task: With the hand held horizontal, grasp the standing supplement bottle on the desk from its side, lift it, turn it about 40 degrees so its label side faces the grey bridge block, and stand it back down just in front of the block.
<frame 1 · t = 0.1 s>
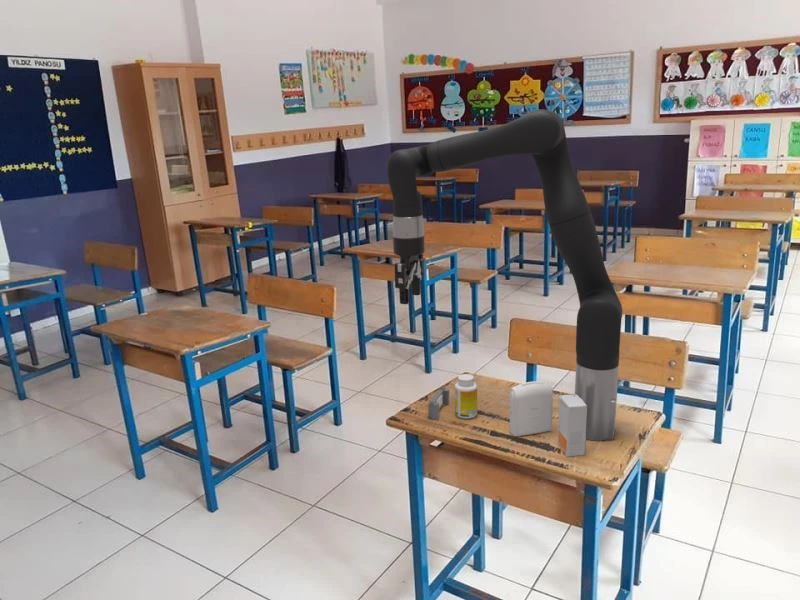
hand: (410, 299, 155), 29 cm above the table, tool pointing down, fingers open, 8 cm apart
supplement bottle: (466, 415, 158), on the table
photo printer: (530, 431, 148), on the table
grey bridge block: (437, 410, 161), on the table
skincare box: (570, 450, 140), on the table
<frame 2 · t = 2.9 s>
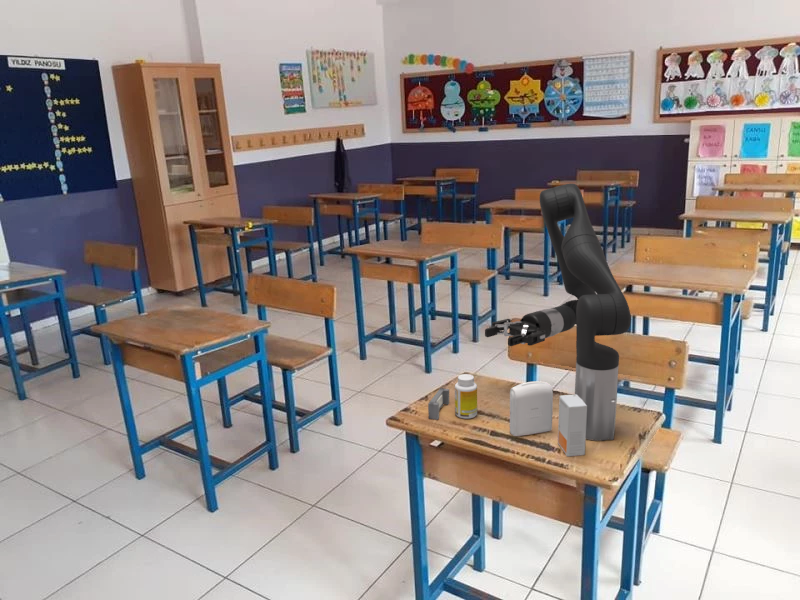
hand: (497, 337, 159), 18 cm above the table, tool horizontal, fingers open, 8 cm apart
nothing on the table moved.
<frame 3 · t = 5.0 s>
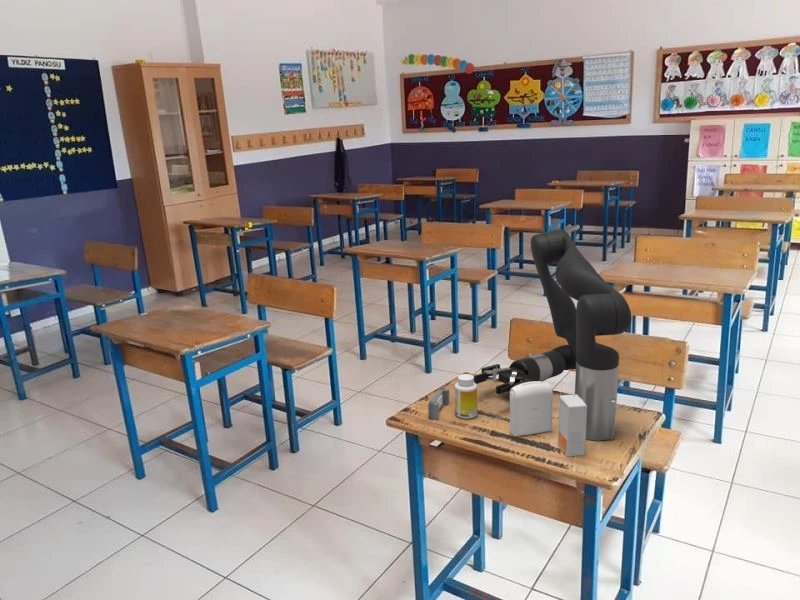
hand: (485, 385, 160), 6 cm above the table, tool horizontal, fingers open, 8 cm apart
nothing on the table moved.
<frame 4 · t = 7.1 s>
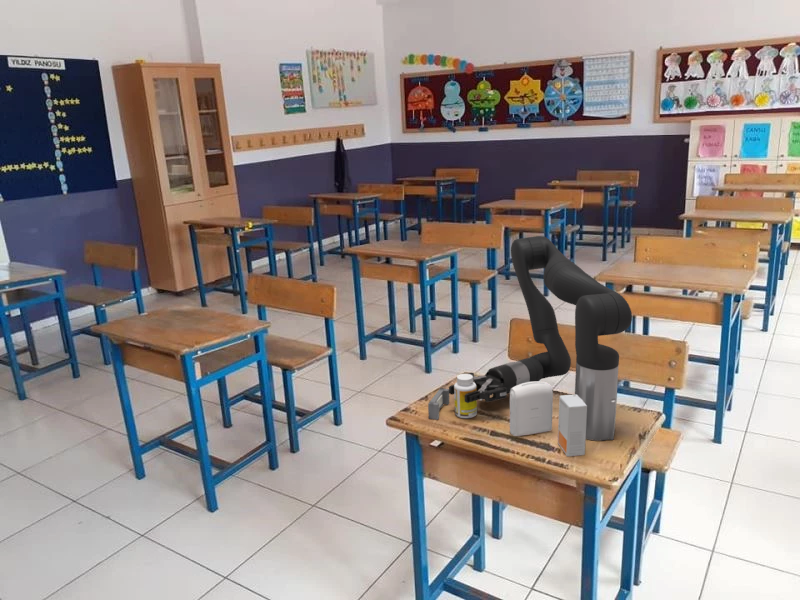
hand: (457, 394, 155), 6 cm above the table, tool horizontal, fingers closed on supplement bottle, 5 cm apart
supplement bottle: (466, 415, 158), on the table, touching gripper
everything else where it was.
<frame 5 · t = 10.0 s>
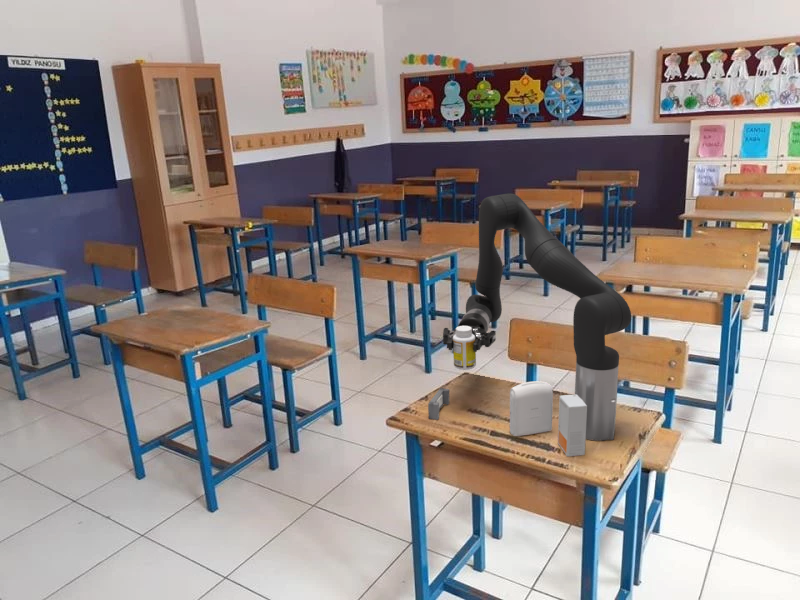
hand: (462, 347, 154), 18 cm above the table, tool horizontal, fingers closed on supplement bottle, 5 cm apart
supplement bottle: (464, 367, 158), point 11 cm above the table, touching gripper
everything else where it was.
when the fingers open (7 cm above the table, at t = 13.1 s): supplement bottle drops 1 cm, on the table.
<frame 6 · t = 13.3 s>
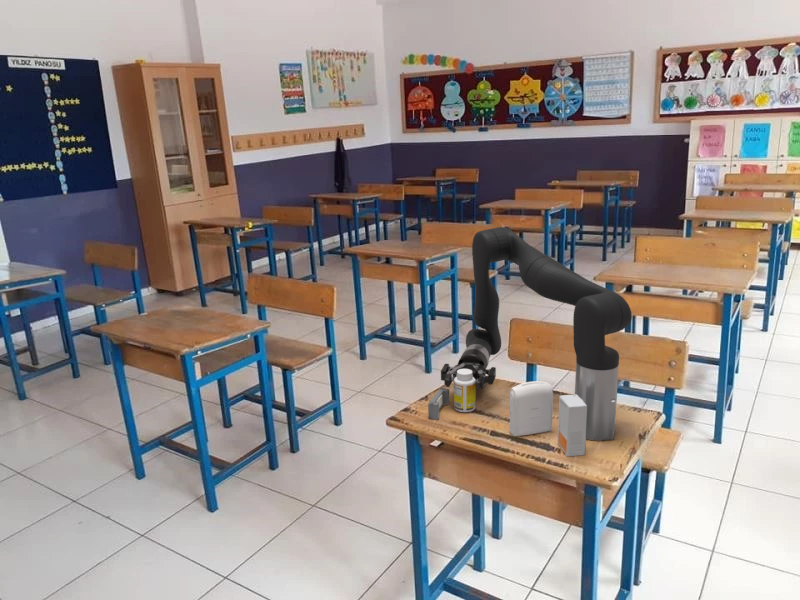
hand: (463, 384, 157), 7 cm above the table, tool horizontal, fingers open, 7 cm apart
supplement bottle: (464, 409, 161), on the table
everything else where it was.
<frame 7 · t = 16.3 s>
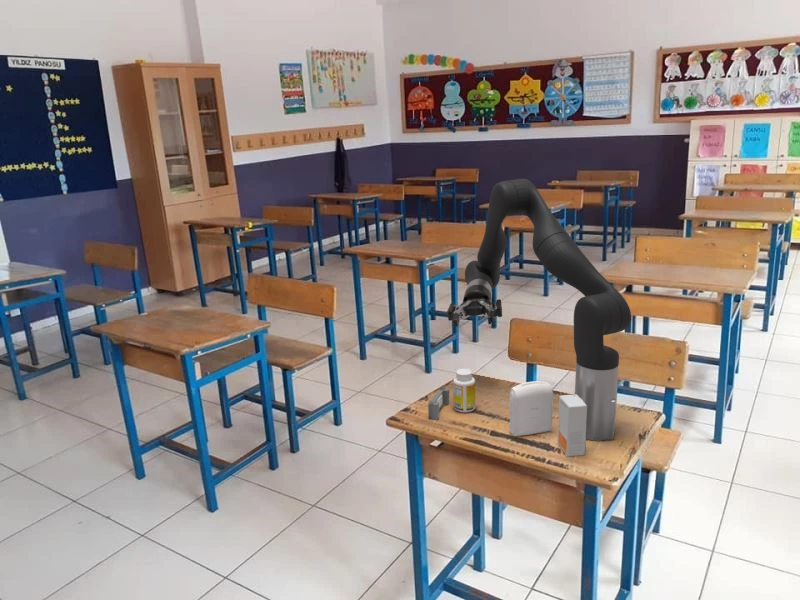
hand: (472, 322, 160), 22 cm above the table, tool horizontal, fingers open, 8 cm apart
nothing on the table moved.
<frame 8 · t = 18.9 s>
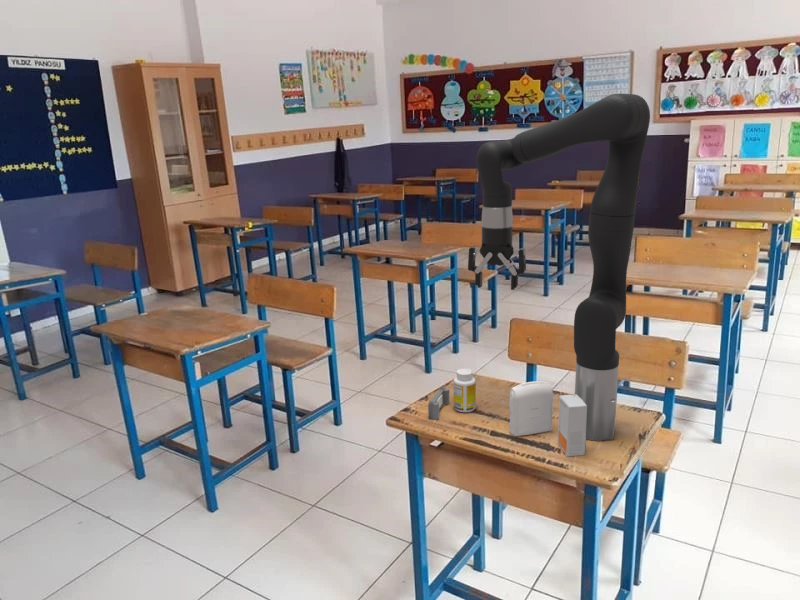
hand: (496, 288, 159), 30 cm above the table, tool pointing down, fingers open, 8 cm apart
nothing on the table moved.
at the end: supplement bottle inside the target area (0.4 cm from its centre), on the table; supplement bottle tilted 1°; the gripper is holding nothing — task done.
